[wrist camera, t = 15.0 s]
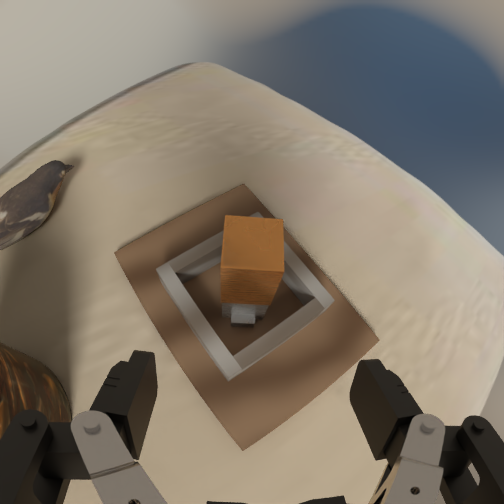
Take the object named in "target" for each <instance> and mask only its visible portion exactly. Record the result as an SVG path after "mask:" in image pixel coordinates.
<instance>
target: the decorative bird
mask: <svg viewBox="0 0 504 504" xmlns="http://www.w3.org/2000/svg"><path fill="white" fill-rule="evenodd" d="M73 167H74V166H72V165H64V164H63V163H62V162H61V161H56V160H54V161H51V162H49V163H47V164H45V165H43V166H41V167H40V168H39V169H37V170H36V171H35V172H34V173H33V174H31V175H30V176H29V177H28V178H27V179H25V180H24V181H22V182H20V183H19V184H18V185H16V186H14V187H13V188H11V189H10V190H9V191H7V192H6V193H5V194H4V195H3V196H2V197H1V198H0V250H2V249H4V248H6V247H8V246H10V245H12V244H14V243H16V242H18V241H19V240H21V239H22V238H24V237H25V236H27V235H28V234H29V233H31V232H32V231H33V230H35V229H36V228H38V227H39V226H40V225H41V224H42V223H43V222H44V221H45V219H46V218H47V216H48V215H49V213H50V212H51V210H52V207H53V205H54V202H55V198H56V196H57V193H58V190H59V189H60V187H61V184H62V182H63V179H64V176H65V174H66V173H67V172H68V171H69V170H70V169H72V168H73Z"/></svg>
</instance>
